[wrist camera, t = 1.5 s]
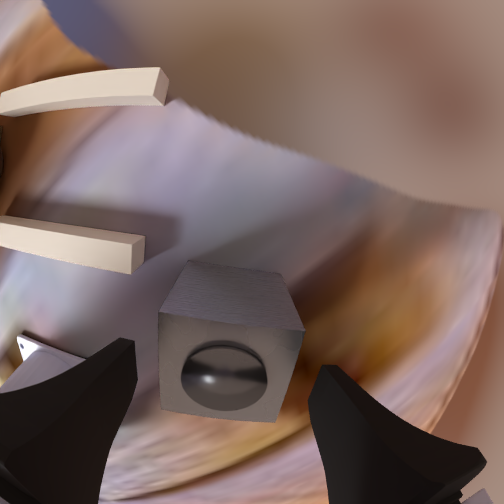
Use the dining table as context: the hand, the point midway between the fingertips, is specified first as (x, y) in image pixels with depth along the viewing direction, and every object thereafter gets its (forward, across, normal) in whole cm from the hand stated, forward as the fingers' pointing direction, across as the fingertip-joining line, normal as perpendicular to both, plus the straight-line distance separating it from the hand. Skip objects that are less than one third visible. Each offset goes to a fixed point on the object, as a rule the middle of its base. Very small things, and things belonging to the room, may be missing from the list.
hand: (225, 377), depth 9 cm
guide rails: (+6, +11, -7) cm, 14 cm away
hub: (+6, 0, 0) cm, 6 cm away
